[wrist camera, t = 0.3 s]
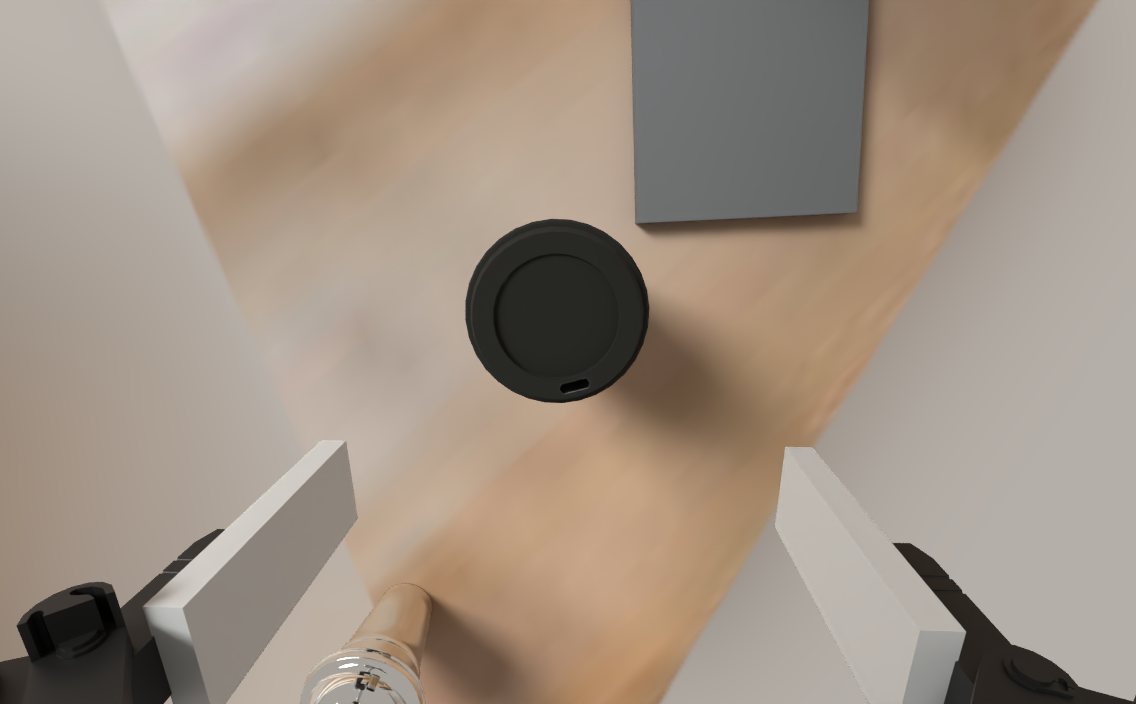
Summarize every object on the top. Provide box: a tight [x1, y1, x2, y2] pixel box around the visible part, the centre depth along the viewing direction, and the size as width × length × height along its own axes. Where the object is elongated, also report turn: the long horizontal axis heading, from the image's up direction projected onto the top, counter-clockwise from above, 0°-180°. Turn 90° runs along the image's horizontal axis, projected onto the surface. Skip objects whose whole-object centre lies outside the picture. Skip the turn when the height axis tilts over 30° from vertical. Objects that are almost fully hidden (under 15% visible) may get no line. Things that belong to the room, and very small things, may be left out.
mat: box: [631, 0, 869, 224], centre depth 37 cm, size 20×16×2 cm
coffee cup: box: [466, 219, 649, 403], centre depth 33 cm, size 10×10×15 cm
